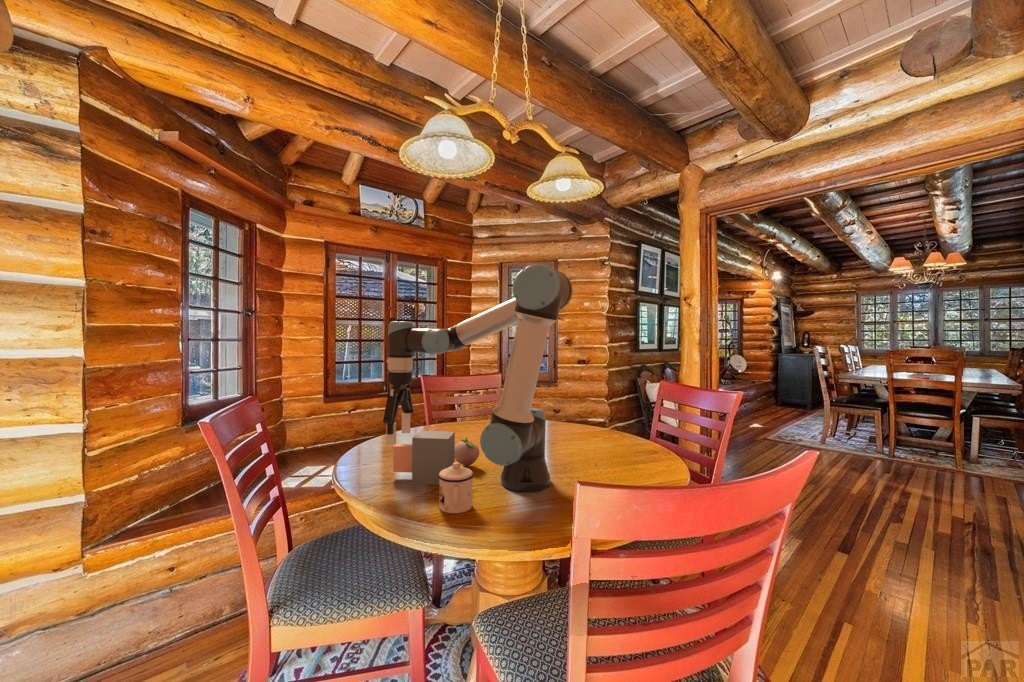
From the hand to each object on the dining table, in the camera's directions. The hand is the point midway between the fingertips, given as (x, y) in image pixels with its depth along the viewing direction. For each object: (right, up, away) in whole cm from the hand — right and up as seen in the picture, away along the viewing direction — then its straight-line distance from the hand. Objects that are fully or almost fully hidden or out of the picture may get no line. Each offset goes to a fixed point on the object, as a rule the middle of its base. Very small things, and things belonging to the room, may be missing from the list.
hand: (398, 438), depth 130 cm
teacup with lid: (+21, -13, -22) cm, 33 cm away
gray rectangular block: (+11, -12, -1) cm, 17 cm away
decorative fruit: (+20, -13, +11) cm, 26 cm away
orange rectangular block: (+7, -10, 0) cm, 12 cm away
